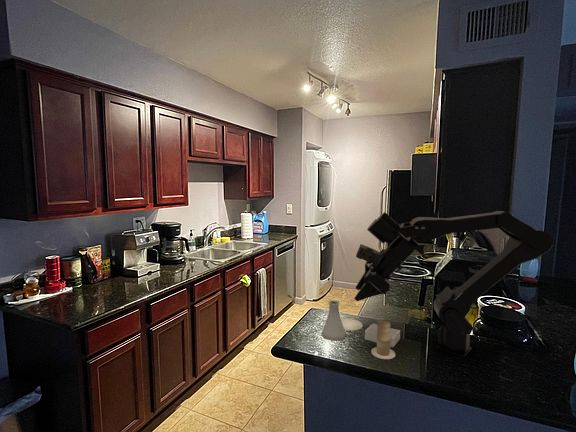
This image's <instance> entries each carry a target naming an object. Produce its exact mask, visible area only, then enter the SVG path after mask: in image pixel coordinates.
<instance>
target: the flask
mask: <svg viewBox="0 0 576 432" xmlns="http://www.w3.org/2000/svg"><path fill="white" fill-rule="evenodd" d="M327 303H328V305H329V306H328V313H327V317H326V320H325V323H324V324H323V325H324V326H323V328H322V331H321V335H322V337H323V339H326V340H331V341H342V340H344V339H345V338H346V336H347V334H346V333H347V332H346V330H345V329H344V327H343V324H342V321H341V320H342V319H341V318H342V317H341V315H340V310H339V305H340V304H341V303H340V301H339V300H333V299H331V300H329V301H328V302H327Z"/></svg>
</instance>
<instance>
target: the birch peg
mask: <svg viewBox="0 0 576 432" xmlns="http://www.w3.org/2000/svg"><path fill="white" fill-rule="evenodd" d="M376 324H377V343H376V347H377V353H378V354H379V355H382V356H388V355H389V354H390V349H391V347H390V328H391V322H390V321H387V320H382V319H381V320H377V323H376Z"/></svg>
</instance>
